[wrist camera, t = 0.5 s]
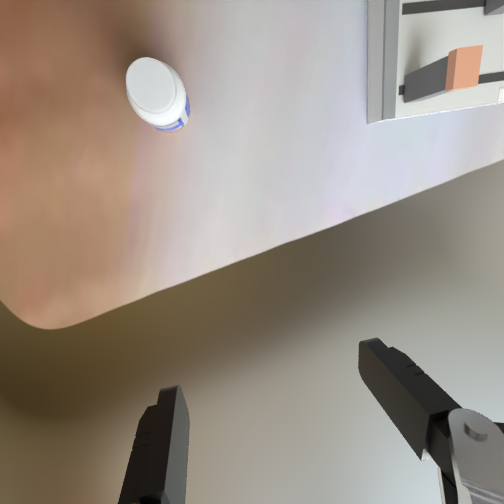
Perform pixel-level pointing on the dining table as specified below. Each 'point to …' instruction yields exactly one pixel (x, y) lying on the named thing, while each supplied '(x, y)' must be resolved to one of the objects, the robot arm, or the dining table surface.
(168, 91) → the pill bottle
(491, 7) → the black fader
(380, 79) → the console
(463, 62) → the terracotta fader
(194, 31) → the dining table surface
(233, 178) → the dining table surface
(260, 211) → the dining table surface
